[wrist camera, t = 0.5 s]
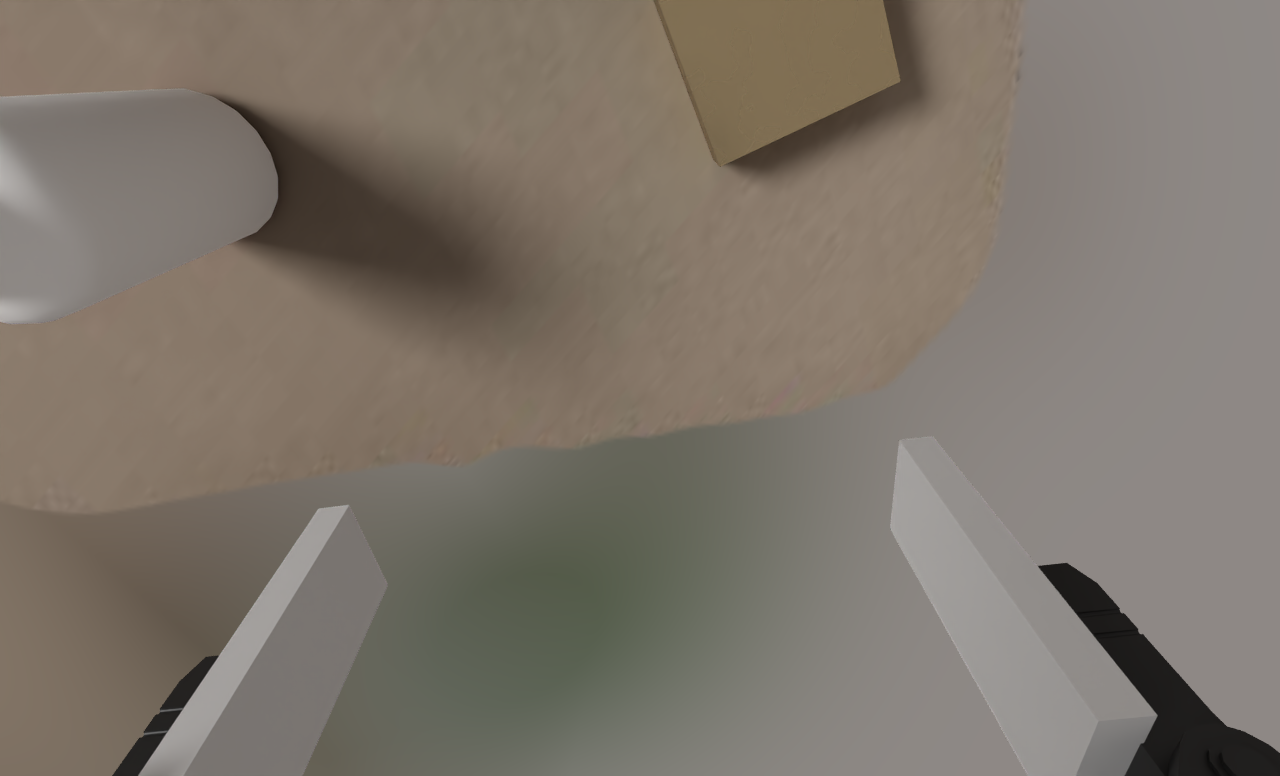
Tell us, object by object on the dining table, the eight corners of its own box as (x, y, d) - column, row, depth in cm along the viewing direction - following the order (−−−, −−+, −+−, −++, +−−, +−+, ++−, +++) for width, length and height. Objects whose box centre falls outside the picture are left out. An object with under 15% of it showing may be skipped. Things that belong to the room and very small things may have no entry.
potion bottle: (118, 77, 33) (-363, 87, 17) (274, 97, 33) (-50, 125, 17) (157, 228, 37) (-203, 350, 21) (296, 244, 37) (49, 374, 21)
